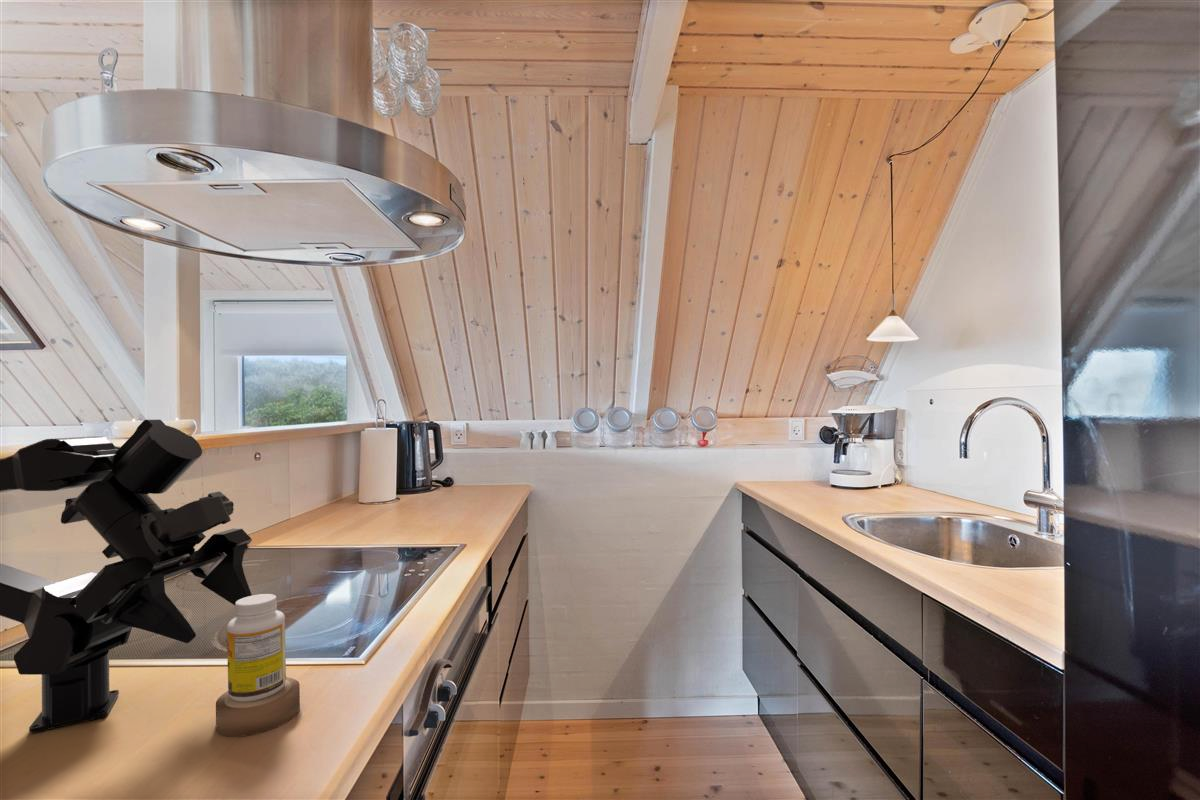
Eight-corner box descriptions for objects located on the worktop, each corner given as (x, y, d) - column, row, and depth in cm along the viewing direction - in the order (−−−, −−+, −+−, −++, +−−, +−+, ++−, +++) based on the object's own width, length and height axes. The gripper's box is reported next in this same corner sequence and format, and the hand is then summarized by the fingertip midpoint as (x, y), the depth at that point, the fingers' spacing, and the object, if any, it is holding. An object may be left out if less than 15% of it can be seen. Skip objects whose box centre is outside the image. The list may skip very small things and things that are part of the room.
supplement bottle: (244, 681, 67) (243, 592, 68) (294, 678, 68) (293, 590, 68) (216, 706, 62) (215, 608, 62) (271, 702, 62) (270, 606, 62)
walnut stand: (218, 710, 66) (218, 686, 66) (298, 692, 70) (298, 669, 70) (212, 744, 59) (212, 718, 59) (301, 722, 63) (301, 697, 63)
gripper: (103, 483, 57) (210, 600, 56) (237, 464, 75) (320, 552, 74) (27, 563, 57) (132, 681, 56) (179, 525, 76) (260, 613, 75)
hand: (224, 623), depth 65 cm, fingers open, 9 cm apart
